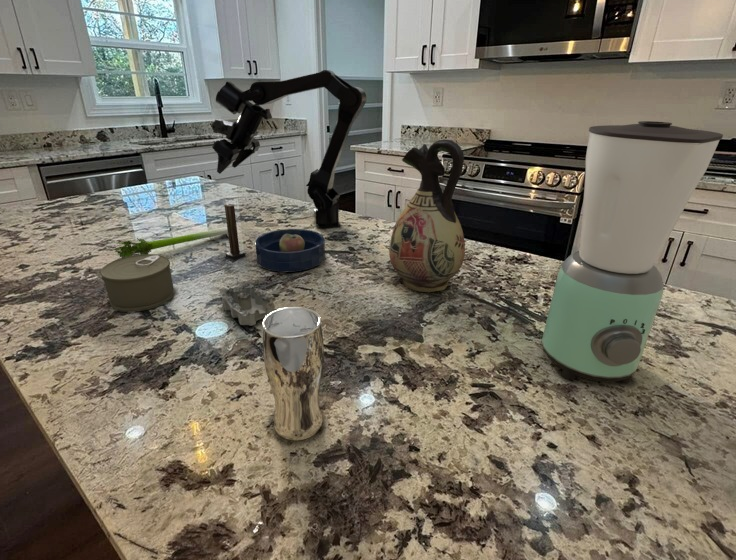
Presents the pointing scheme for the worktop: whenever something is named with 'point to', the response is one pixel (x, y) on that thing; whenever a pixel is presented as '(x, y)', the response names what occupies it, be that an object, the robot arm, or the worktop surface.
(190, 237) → the celery stalk
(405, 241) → the ceramic jug
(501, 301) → the worktop surface
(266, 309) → the egg carton
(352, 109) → the robot arm
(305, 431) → the beer glass
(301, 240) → the apple
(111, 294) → the can
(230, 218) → the dark brown piece
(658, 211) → the blender
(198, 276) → the worktop surface
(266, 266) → the bowl
